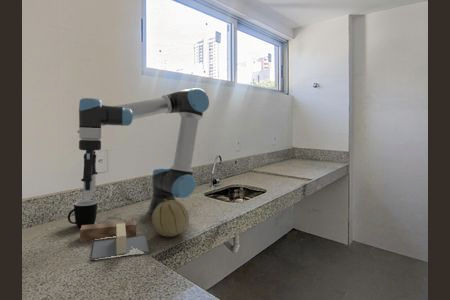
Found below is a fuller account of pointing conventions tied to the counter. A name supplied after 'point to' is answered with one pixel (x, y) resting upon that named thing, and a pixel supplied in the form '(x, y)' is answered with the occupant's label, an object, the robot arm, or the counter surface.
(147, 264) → the counter surface
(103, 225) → the beam
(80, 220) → the mug
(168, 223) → the cantaloupe
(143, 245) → the fulcrum
